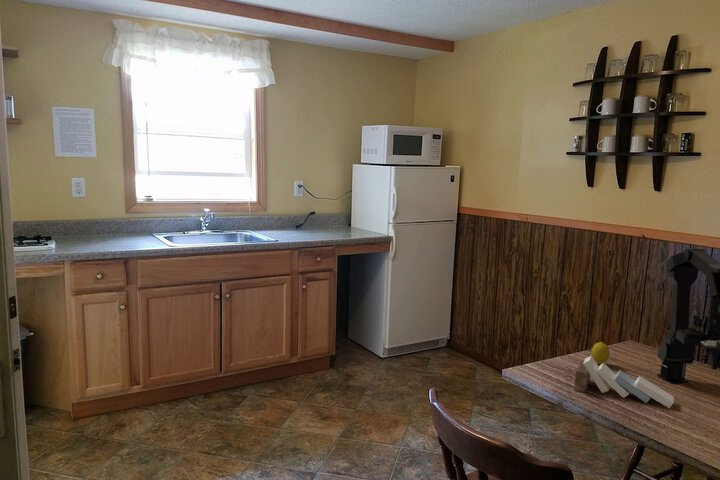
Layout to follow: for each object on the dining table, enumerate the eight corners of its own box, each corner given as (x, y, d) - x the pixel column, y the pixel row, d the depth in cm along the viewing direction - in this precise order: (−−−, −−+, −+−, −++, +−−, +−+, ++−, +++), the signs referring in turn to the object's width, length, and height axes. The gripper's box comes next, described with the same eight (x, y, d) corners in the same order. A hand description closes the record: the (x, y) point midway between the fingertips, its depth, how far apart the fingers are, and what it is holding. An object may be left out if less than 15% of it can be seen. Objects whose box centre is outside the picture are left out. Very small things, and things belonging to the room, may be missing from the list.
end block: (589, 380, 162) (591, 362, 162) (584, 392, 154) (586, 373, 153) (579, 378, 164) (581, 360, 163) (574, 390, 156) (575, 371, 155)
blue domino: (651, 391, 151) (619, 369, 155) (650, 398, 147) (618, 375, 151) (647, 396, 152) (615, 374, 156) (646, 403, 148) (614, 380, 152)
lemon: (611, 367, 174) (613, 345, 172) (594, 367, 174) (596, 344, 173) (603, 361, 179) (606, 339, 178) (588, 360, 179) (590, 339, 178)
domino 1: (610, 384, 157) (591, 355, 159) (608, 390, 153) (589, 360, 155) (604, 387, 158) (585, 358, 160) (602, 393, 154) (583, 363, 156)
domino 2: (630, 388, 154) (603, 362, 157) (628, 394, 150) (601, 368, 153) (625, 391, 155) (598, 366, 158) (623, 398, 151) (596, 372, 154)
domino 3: (673, 396, 148) (639, 375, 152) (673, 403, 144) (638, 381, 148) (669, 401, 149) (635, 380, 153) (669, 408, 145) (634, 386, 149)
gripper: (742, 308, 144) (735, 361, 146) (670, 303, 147) (664, 355, 150) (766, 319, 133) (758, 376, 136) (687, 315, 136) (681, 370, 139)
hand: (713, 369), depth 140 cm, fingers closed
